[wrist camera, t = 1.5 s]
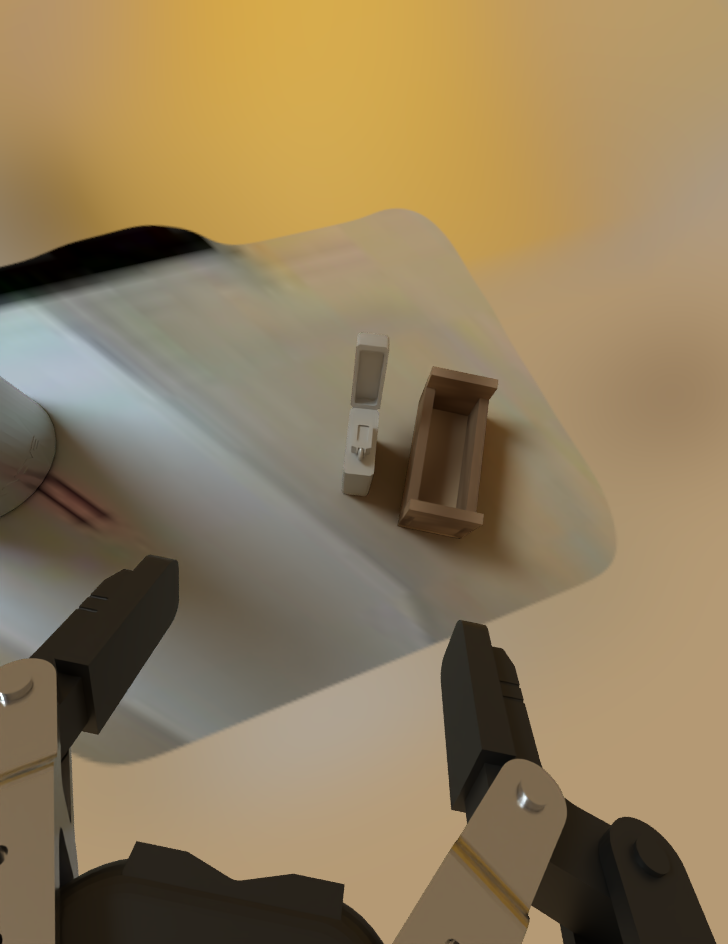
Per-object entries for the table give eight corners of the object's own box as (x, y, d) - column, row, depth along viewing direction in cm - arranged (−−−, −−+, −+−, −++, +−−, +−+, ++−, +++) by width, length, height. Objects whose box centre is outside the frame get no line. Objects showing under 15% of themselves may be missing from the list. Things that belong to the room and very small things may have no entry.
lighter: (367, 496, 28) (380, 452, 21) (341, 493, 28) (344, 448, 21) (376, 400, 31) (391, 328, 23) (352, 397, 31) (358, 324, 23)
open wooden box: (397, 525, 28) (409, 509, 24) (419, 400, 31) (432, 366, 27) (459, 538, 28) (482, 524, 24) (475, 412, 31) (498, 379, 27)
